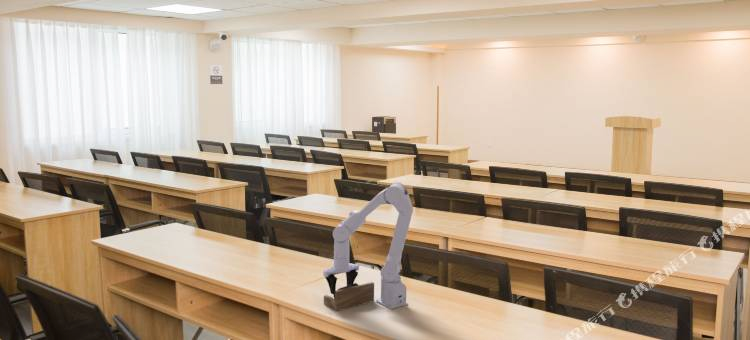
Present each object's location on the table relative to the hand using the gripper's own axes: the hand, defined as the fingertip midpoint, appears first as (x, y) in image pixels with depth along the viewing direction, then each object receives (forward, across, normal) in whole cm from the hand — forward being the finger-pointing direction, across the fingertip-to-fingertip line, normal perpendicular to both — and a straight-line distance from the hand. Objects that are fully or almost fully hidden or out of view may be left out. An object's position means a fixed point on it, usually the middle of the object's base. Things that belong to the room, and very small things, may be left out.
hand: (341, 291), depth 219 cm
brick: (+2, 0, +3) cm, 4 cm away
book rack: (+3, 0, +5) cm, 6 cm away
